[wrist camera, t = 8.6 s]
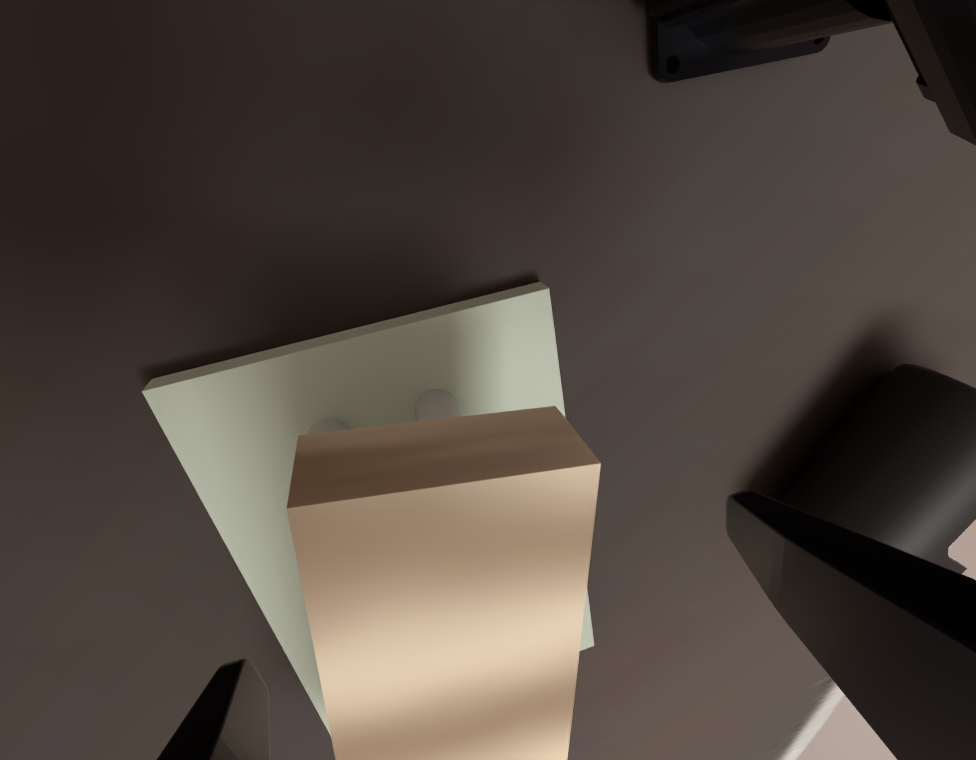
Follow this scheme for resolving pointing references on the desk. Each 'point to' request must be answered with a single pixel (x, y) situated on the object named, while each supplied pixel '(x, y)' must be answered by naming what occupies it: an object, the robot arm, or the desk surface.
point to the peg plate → (343, 422)
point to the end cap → (900, 466)
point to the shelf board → (446, 582)
